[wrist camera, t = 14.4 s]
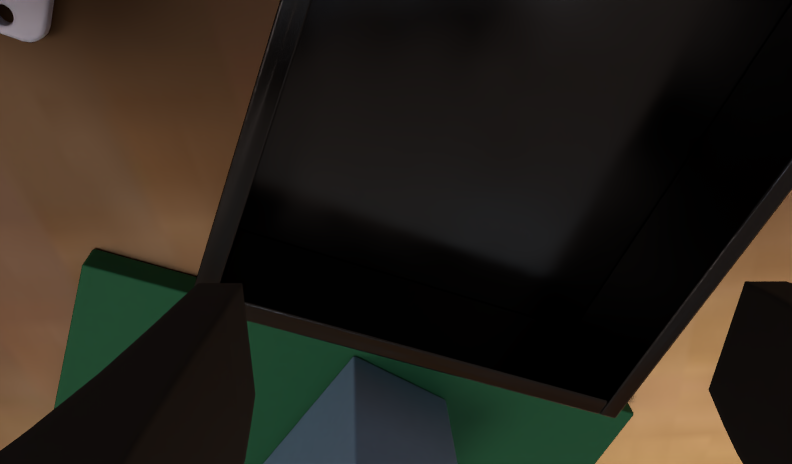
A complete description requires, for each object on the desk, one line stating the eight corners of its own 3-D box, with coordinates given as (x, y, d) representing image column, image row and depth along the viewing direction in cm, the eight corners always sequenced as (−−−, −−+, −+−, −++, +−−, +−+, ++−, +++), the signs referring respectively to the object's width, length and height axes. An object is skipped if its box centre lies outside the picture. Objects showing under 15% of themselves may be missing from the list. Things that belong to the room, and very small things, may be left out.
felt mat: (51, 457, 24) (39, 478, 23) (93, 247, 20) (81, 264, 19) (508, 547, 29) (513, 568, 28) (624, 395, 24) (634, 414, 24)
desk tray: (215, 230, 20) (187, 306, 16) (380, -311, 13) (392, -375, 10) (574, 337, 23) (615, 419, 19) (841, -60, 17) (972, -42, 13)
